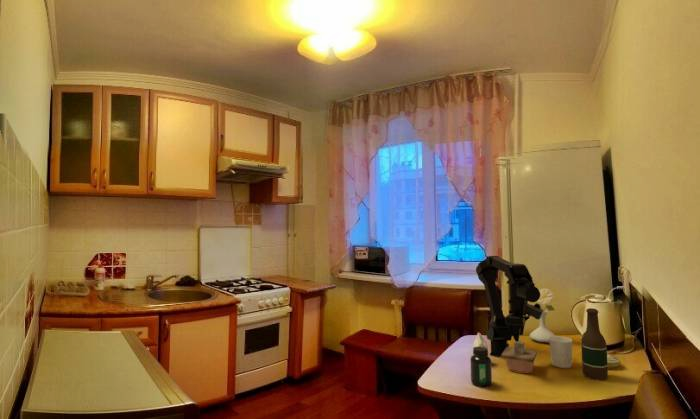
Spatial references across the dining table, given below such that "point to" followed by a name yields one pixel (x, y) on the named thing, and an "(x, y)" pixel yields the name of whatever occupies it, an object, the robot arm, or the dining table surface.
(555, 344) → the white cup
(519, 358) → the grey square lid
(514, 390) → the dining table surface
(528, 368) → the terracotta bowl
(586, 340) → the beer bottle
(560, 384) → the dining table surface
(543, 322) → the flower in vase
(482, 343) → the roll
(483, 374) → the supplement bottle
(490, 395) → the dining table surface
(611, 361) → the decorated donut
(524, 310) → the robot arm
